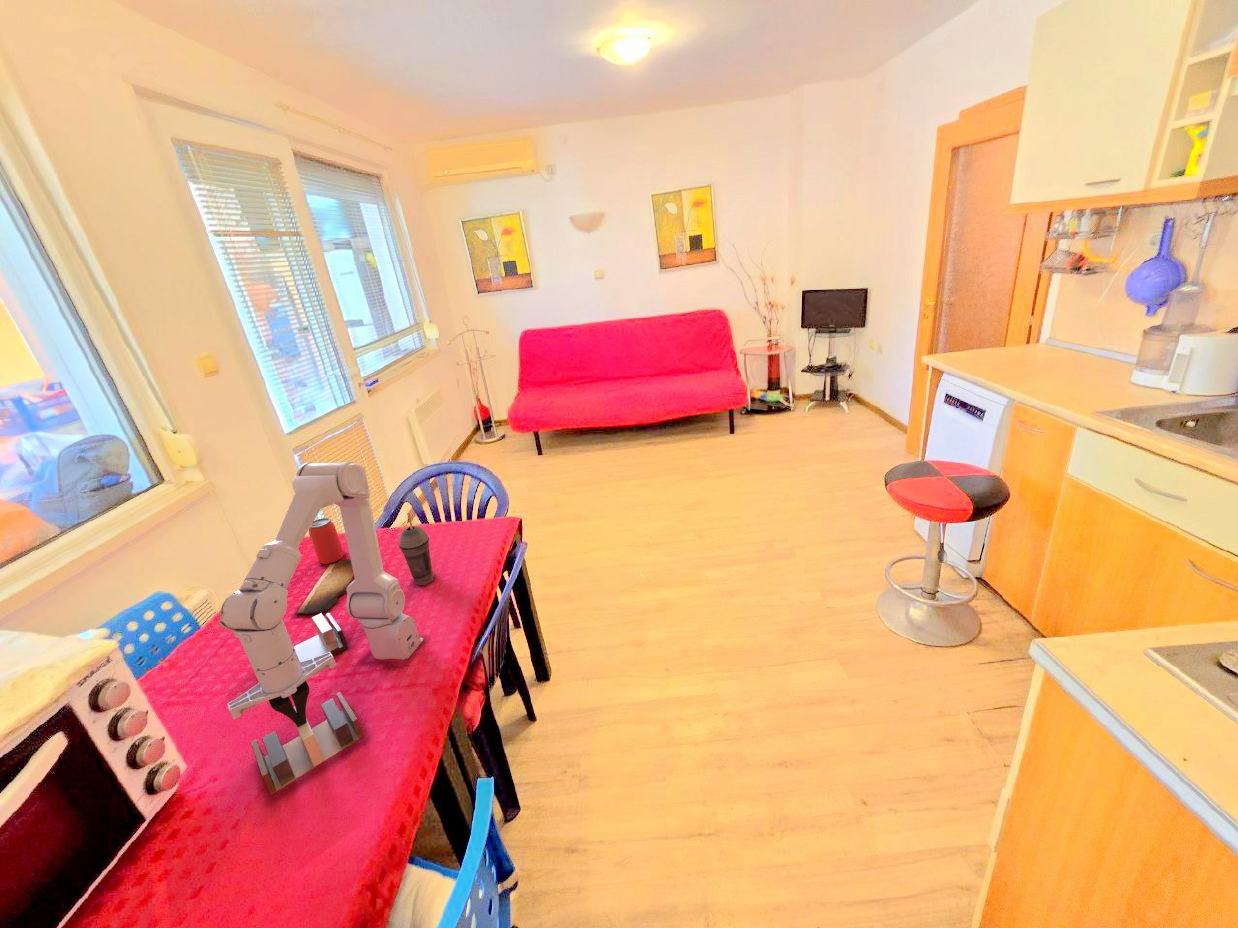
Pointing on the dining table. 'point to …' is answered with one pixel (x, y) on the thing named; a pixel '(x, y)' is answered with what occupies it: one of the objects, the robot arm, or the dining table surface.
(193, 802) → the dining table surface
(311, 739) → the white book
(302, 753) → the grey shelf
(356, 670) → the dining table surface
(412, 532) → the beverage cup
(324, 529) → the beer can
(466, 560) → the dining table surface
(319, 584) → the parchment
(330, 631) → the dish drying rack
